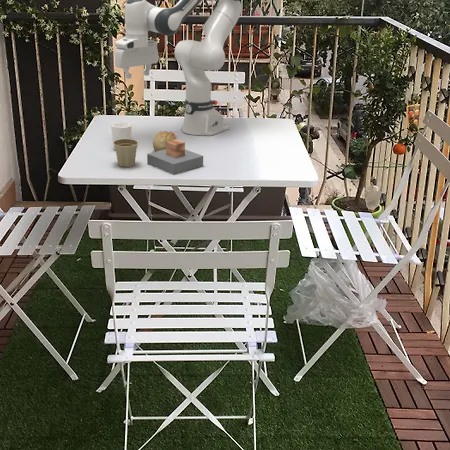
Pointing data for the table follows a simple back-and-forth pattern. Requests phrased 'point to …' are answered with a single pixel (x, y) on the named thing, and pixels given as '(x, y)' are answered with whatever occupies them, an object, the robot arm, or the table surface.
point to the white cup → (121, 131)
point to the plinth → (175, 161)
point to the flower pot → (125, 151)
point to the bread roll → (162, 140)
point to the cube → (175, 148)
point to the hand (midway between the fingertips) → (137, 76)
